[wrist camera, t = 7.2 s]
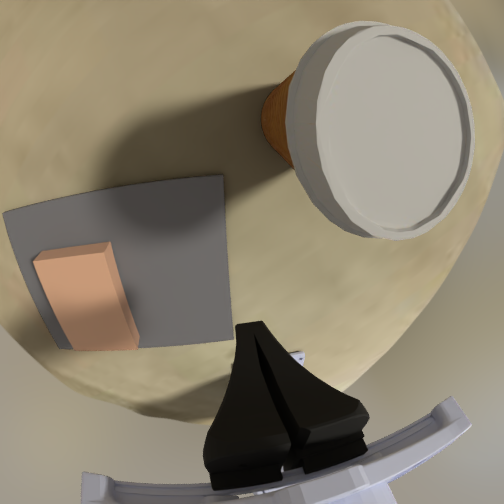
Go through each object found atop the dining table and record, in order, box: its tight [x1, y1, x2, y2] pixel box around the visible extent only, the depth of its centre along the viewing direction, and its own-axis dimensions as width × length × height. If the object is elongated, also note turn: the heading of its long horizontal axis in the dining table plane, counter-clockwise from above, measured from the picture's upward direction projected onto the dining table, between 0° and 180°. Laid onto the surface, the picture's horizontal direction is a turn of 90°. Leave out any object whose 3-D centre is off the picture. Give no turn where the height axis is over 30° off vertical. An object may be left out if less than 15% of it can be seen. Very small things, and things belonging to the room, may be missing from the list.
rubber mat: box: [2, 174, 234, 349], centre depth 21 cm, size 16×20×1 cm
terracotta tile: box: [33, 242, 140, 351], centre depth 20 cm, size 10×2×7 cm
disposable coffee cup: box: [261, 21, 475, 241], centre depth 13 cm, size 10×10×12 cm
